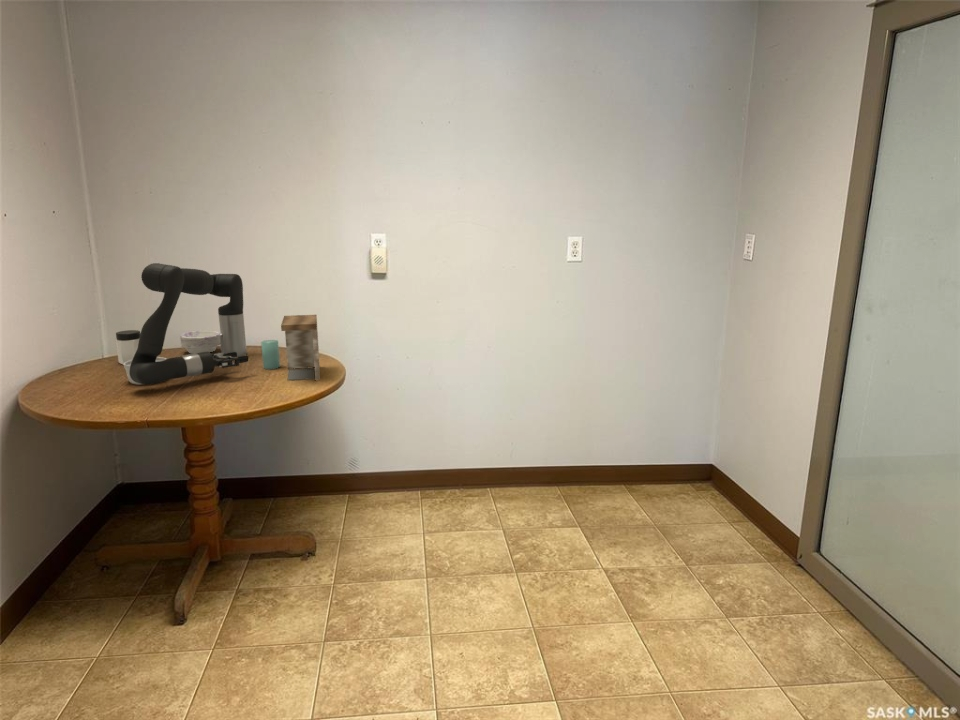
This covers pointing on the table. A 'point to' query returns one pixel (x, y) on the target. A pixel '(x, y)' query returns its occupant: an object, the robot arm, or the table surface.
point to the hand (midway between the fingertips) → (242, 356)
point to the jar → (127, 344)
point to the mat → (300, 374)
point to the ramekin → (128, 364)
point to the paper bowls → (200, 341)
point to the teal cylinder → (270, 354)
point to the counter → (302, 342)
